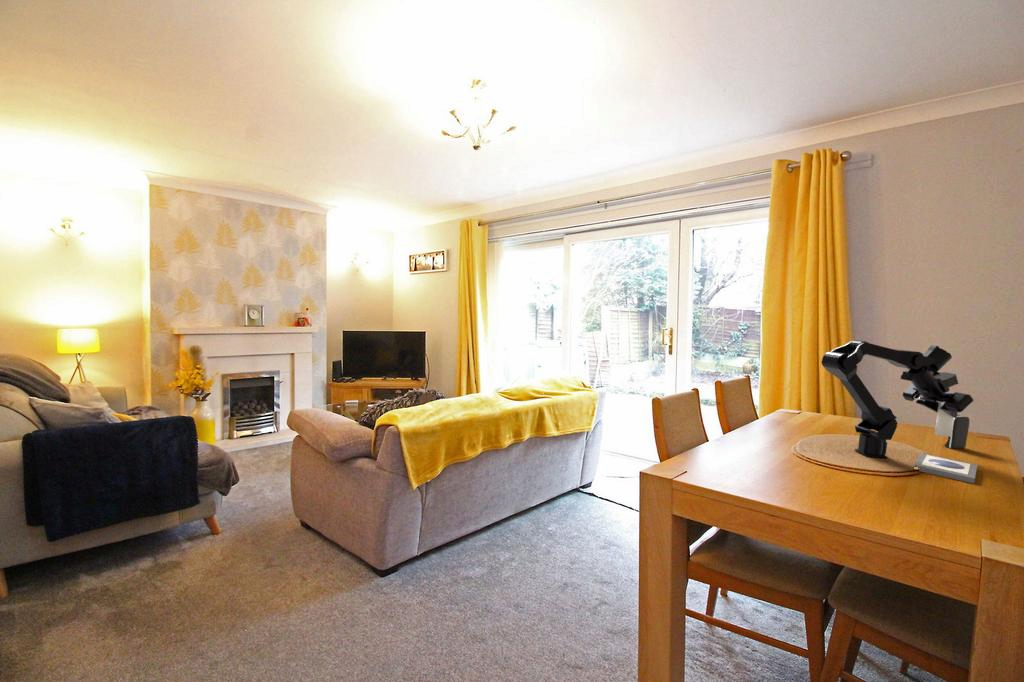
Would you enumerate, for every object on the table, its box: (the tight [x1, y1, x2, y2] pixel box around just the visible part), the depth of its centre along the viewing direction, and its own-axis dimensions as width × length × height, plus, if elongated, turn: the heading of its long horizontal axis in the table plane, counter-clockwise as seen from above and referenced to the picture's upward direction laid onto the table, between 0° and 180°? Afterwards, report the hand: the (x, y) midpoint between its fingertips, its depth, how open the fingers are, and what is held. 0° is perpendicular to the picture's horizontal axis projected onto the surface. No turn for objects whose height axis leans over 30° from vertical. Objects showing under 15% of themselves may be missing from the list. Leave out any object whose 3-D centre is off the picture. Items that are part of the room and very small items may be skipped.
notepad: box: [913, 452, 978, 485], centre depth 143 cm, size 18×13×2 cm
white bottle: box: [934, 391, 955, 438], centre depth 157 cm, size 4×4×14 cm
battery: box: [943, 414, 970, 449], centre depth 168 cm, size 7×4×11 cm, turn 105°
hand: (949, 415), depth 157 cm, fingers closed on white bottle, 4 cm apart
